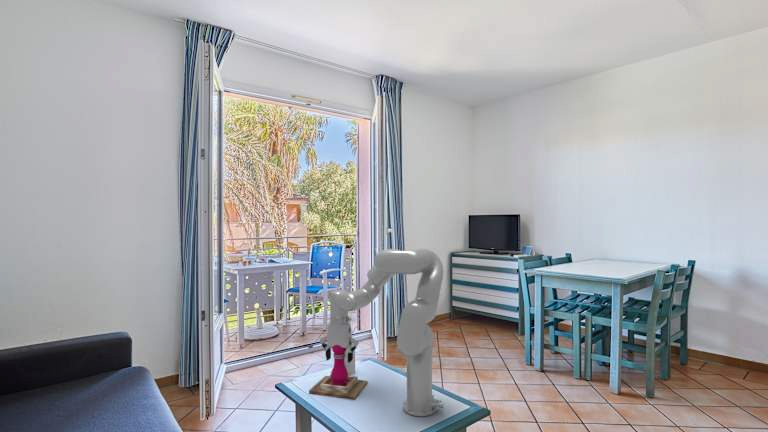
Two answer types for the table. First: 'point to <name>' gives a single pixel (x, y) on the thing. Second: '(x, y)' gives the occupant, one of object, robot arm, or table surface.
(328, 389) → the stand
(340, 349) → the pepper mill
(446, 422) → the table surface
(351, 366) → the milk carton
